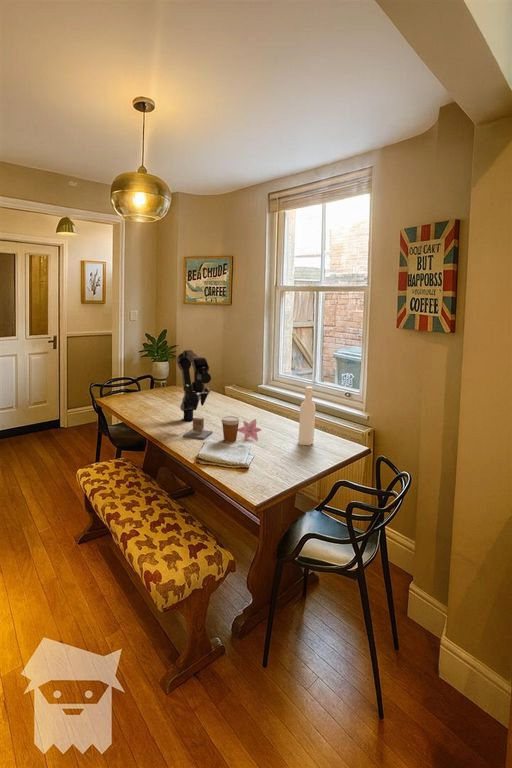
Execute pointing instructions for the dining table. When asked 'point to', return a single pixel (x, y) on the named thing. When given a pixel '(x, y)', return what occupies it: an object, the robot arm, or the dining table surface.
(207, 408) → the dining table surface
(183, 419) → the robot arm
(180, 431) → the tile
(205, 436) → the rest mat
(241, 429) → the lily
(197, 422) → the brown wooden block
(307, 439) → the bottle
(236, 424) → the disposable coffee cup
